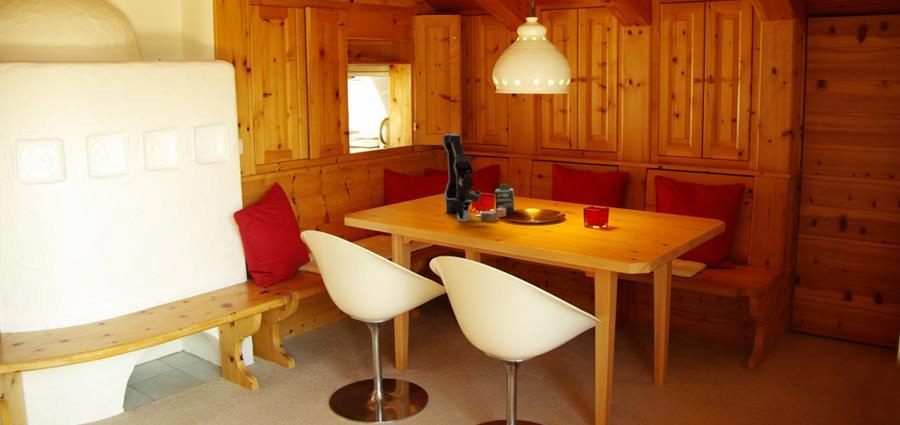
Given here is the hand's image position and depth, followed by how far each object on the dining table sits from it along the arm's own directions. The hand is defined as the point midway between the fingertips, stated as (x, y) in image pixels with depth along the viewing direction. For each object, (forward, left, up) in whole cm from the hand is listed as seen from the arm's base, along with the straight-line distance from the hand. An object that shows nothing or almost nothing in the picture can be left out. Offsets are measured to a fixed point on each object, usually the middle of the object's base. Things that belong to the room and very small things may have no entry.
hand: (463, 217), depth 423 cm
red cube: (+15, +13, -1) cm, 20 cm away
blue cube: (0, 0, -1) cm, 1 cm away
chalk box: (+13, +24, -1) cm, 27 cm away
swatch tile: (+6, +11, -1) cm, 13 cm away
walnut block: (+12, +3, -1) cm, 12 cm away
